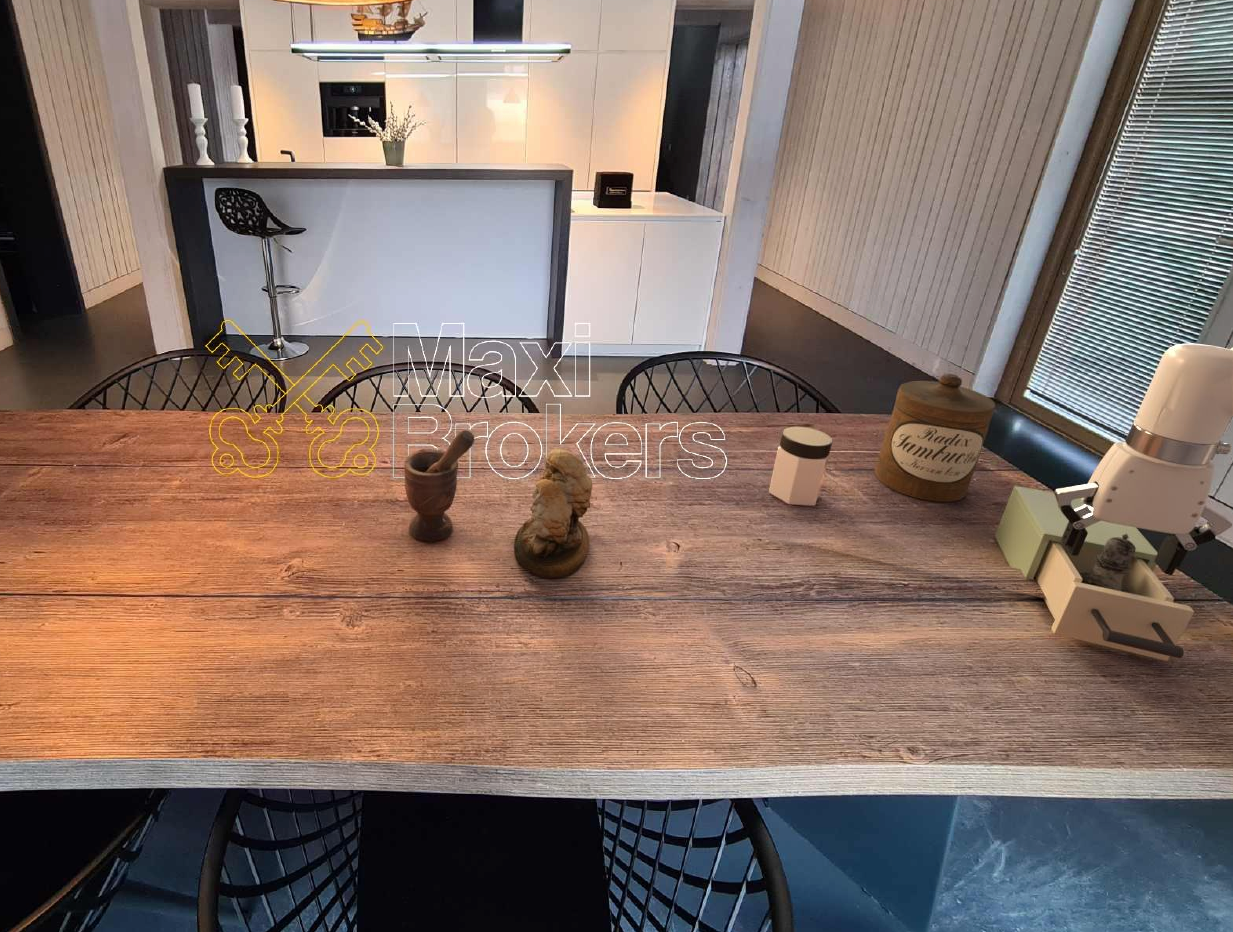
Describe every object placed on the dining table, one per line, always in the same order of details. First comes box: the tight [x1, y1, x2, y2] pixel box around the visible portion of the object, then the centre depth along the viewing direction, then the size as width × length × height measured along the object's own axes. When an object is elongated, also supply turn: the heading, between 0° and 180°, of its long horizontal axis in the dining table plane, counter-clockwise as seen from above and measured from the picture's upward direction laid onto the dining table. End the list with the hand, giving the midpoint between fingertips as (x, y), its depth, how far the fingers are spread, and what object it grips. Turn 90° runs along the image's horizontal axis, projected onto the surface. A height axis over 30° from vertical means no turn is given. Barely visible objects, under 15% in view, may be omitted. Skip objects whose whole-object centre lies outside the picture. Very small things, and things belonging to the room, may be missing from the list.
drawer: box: [1034, 540, 1195, 662], centre depth 88 cm, size 19×12×8 cm, turn 156°
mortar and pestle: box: [403, 429, 475, 543], centre depth 107 cm, size 12×9×20 cm
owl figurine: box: [513, 448, 593, 580], centre depth 104 cm, size 18×12×17 cm, turn 167°
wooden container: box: [874, 373, 996, 503], centre depth 123 cm, size 15×15×22 cm
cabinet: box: [994, 485, 1158, 581], centre depth 100 cm, size 15×13×10 cm
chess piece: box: [1079, 534, 1136, 593], centre depth 89 cm, size 6×6×12 cm
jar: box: [768, 426, 833, 507], centre depth 120 cm, size 9×8×12 cm
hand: (1115, 559), depth 89 cm, fingers open, 9 cm apart
